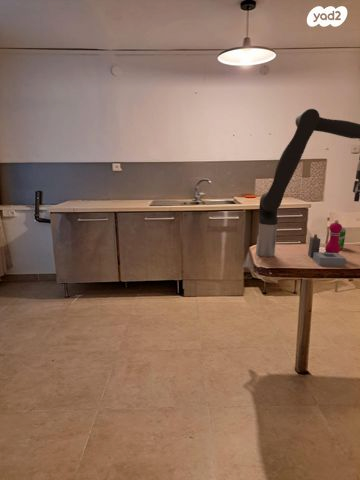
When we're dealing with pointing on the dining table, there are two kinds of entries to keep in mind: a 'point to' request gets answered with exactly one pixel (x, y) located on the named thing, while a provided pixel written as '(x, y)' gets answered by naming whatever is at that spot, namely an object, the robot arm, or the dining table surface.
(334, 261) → the socket box
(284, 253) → the dining table surface
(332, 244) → the pepper mill
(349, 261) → the dining table surface
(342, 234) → the soda can
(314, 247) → the block
